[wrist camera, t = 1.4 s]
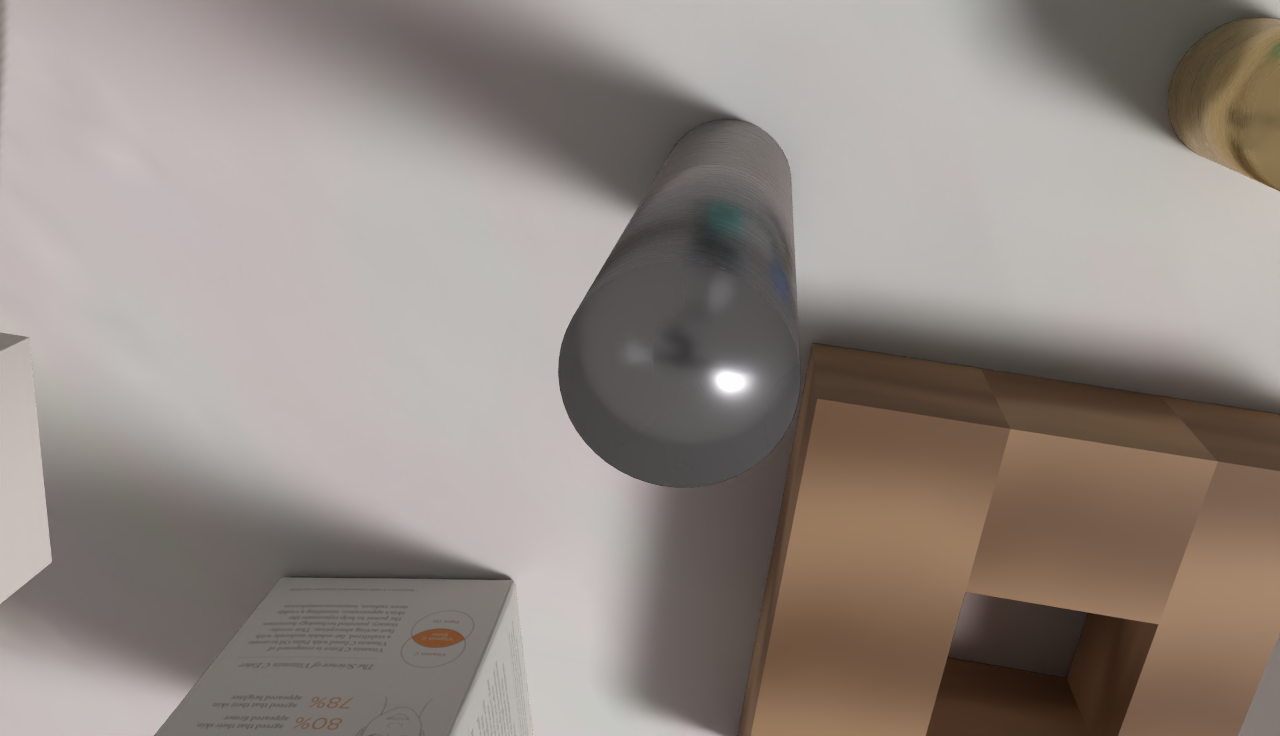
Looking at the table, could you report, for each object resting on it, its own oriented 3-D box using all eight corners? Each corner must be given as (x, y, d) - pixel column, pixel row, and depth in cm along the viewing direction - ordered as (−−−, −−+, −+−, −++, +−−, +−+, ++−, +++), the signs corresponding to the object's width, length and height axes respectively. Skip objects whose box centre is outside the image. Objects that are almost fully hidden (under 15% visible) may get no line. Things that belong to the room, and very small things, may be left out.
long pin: (671, 110, 27) (570, 244, 14) (801, 128, 27) (820, 281, 14) (655, 237, 28) (548, 467, 15) (780, 256, 28) (778, 504, 15)
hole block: (812, 343, 29) (817, 398, 25) (1336, 423, 28) (1422, 493, 24) (736, 741, 34) (730, 836, 30) (1175, 821, 33) (1224, 929, 29)
